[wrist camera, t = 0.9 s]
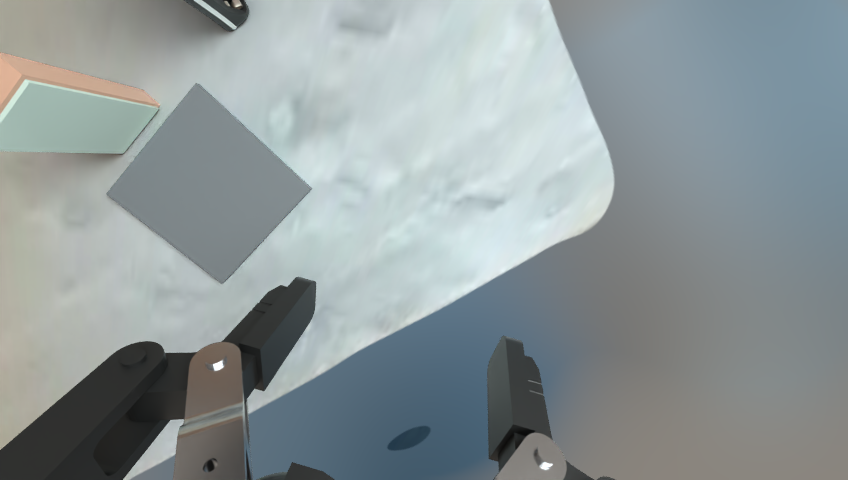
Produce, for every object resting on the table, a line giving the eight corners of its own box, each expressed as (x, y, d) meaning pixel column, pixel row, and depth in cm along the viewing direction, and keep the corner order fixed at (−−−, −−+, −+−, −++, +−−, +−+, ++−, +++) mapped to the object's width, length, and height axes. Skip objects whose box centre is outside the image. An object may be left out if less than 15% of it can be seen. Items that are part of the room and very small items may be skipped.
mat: (110, 193, 34) (106, 194, 34) (199, 84, 32) (195, 82, 31) (224, 282, 37) (221, 283, 37) (311, 188, 35) (310, 188, 35)
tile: (104, 139, 33) (-62, 129, 21) (143, 90, 32) (-8, 50, 20) (124, 155, 33) (-27, 154, 22) (163, 107, 32) (26, 78, 21)
